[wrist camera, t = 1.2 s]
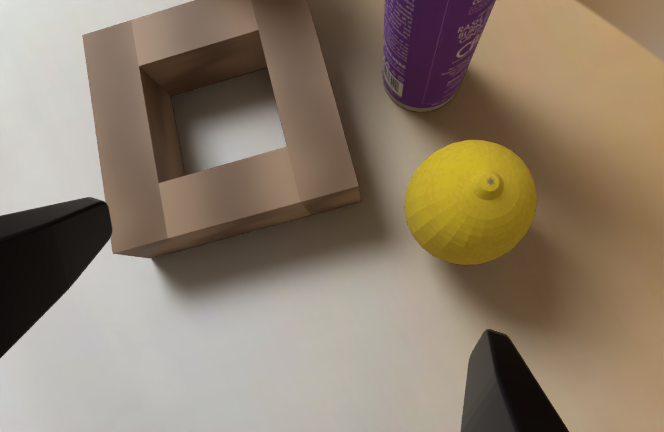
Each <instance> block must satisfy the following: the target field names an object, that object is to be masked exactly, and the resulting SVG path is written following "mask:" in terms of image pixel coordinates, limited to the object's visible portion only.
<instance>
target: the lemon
mask: <svg viewBox="0 0 664 432" xmlns="http://www.w3.org/2000/svg"><path fill="white" fill-rule="evenodd" d="M536 205H537V193H536V185H535V182H534V180H533V177H532V174H531V172H530V170H529V169H528V167H527V166H526V165H525V163H524V162H523V160H522V159H521V158H519V157H518V156H517V155H516V154H515V153H514V152H512V151H511V150H509V149H507V148H505V147H503V146H501V145H500V144H497V143H493V142H489V141H485V140H465V141H461V142H456V143H452V144H450V145H447V146H445V147H443V148H441V149H439V150H437V151H435V152H434V153H433V154H432V155H430V156H429V157H428V158H427V159H426V160H424V161H423V162H422V163H421V164H420V166H419V167H418V169H417V170H416V171H415V173H414V174H413V176H412V177H411V180H410V182H409V185H408V188H407V191H406V196H405V206H404V209H405V214H406V220H407V224H408V226H409V228H410V231H411V233H412V235H413V237H414V238H415V239H416V240H417V242H418V243H419V244H420V246H421V247H422V248H424V249H425V250H426V251H427V252H429V253H430V254H431V255H433V256H434V257H437V258H439V259H441V260H444V261H446V262H449V263H455V264H460V265H472V264H482V263H485V262H488V261H491V260H494V259H497V258H499V257H501V256H502V255H504V254H505V253H507V252H508V251H510V250H511V249H513V248H514V247H515V246H516V245H517V244H518V242H519V241H520V240H521V239H522V238H523V237H524V236H525V234H526V233H527V231H528V229H529V227H530V225H531V223H532V221H533V219H534V216H535V211H536Z"/></svg>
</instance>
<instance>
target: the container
mask: <svg viewBox="0 0 664 432" xmlns="http://www.w3.org/2000/svg"><path fill="white" fill-rule="evenodd" d="M495 1H496V0H385V15H384V48H383V83H384V87H385V90H386V92H387V94H388V95H389V97H390V98H391V99H392V100H393V101H394V102H395V103H396V104H398V105H399V106H401V107H403V108H405V109H408V110H411V111H417V112H425V111H431V110H435V109H437V108H440V107H442V106H443V105H445V104H446V103H448V102H449V101H450V100H451V99H452V98H453V97H454V95H455V94H456V92H457V91H458V88H459V86H460V84H461V82H462V80H463V77H464V75H465V72H466V70H467V68H468V65H469V63H470V61H471V58H472V56H473V53H474V51H475V49H476V46H477V44H478V41H479V39H480V37H481V34H482V32H483V30H484V27H485V25H486V22H487V20H488V18H489V15H490V13H491V10H492V8H493V6H494V3H495Z"/></svg>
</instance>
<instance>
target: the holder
mask: <svg viewBox="0 0 664 432" xmlns="http://www.w3.org/2000/svg"><path fill="white" fill-rule="evenodd" d="M82 36H83V43H84V50H85V57H86V64H87V72H88V79H89V86H90V93H91V100H92V108H93V115H94V122H95V129H96V136H97V144H98V151H99V158H100V165H101V172H102V180H103V187H104V194H105V201H106V203H107V205H108V207H109V211H110V217H111V223H112V229H113V231H112V235H111V244H112V252H113V254H121V255H128V256H136V257H143V258H154V257H158V256H162V255H165V254H169V253H173V252H176V251H180V250H184V249H187V248H191V247H195V246H198V245H202V244H206V243H209V242H213V241H217V240H221V239H224V238H228V237H232V236H235V235H239V234H243V233H246V232H250V231H254V230H257V229H261V228H265V227H268V226H272V225H276V224H279V223H283V222H287V221H290V220H294V219H298V218H301V217H305V216H309V215H313V214H316V213H320V212H324V211H327V210H331V209H335V208H338V207H342V206H346V205H349V204H353V203H357V202H360V201H361V197H360V191H359V185H358V181H357V178H356V174H355V171H354V167H353V163H352V160H351V156H350V153H349V149H348V145H347V142H346V138H345V134H344V131H343V127H342V124H341V120H340V116H339V113H338V109H337V106H336V102H335V98H334V95H333V91H332V87H331V84H330V80H329V77H328V73H327V69H326V66H325V62H324V59H323V55H322V51H321V48H320V44H319V40H318V37H317V33H316V30H315V26H314V22H313V19H312V15H311V12H310V8H309V4H308V1H307V0H195V1H192V2H188V3H185V4H182V5H179V6H175V7H172V8H169V9H166V10H163V11H159V12H156V13H153V14H150V15H146V16H143V17H140V18H137V19H134V20H130V21H127V22H124V23H121V24H117V25H114V26H111V27H108V28H105V29H101V30H98V31H95V32H92V33H88V34H85V35H82ZM266 67H268V71H269V75H270V79H271V83H272V88H273V92H274V96H275V100H276V104H277V108H278V112H279V116H280V121H281V125H282V129H283V133H284V137H285V141H286V145H287V147H285V148H281V149H277V150H274V151H270V152H267V153H263V154H260V155H256V156H253V157H249V158H246V159H242V160H239V161H235V162H232V163H228V164H225V165H221V166H217V167H214V168H210V169H207V170H203V171H200V172H196V173H193V174H189V175H186V176H185V172H184V166H183V161H182V155H181V150H180V144H179V139H178V134H177V128H176V123H175V117H174V112H173V106H172V101H171V96H172V95H175V94H179V93H182V92H185V91H189V90H192V89H195V88H199V87H202V86H206V85H209V84H212V83H216V82H219V81H222V80H226V79H229V78H233V77H236V76H239V75H243V74H246V73H249V72H253V71H256V70H259V69H263V68H266Z"/></svg>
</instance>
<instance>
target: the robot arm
mask: <svg viewBox="0 0 664 432" xmlns="http://www.w3.org/2000/svg"><path fill="white" fill-rule="evenodd" d="M112 231H113V229H112V223H111V217H110V211H109V207H108V205H107V203H105V202H104V201H101V200H98V199H95V198H91V197H87V198H82V199H77V200H72V201H68V202H63V203H58V204H54V205H49V206H44V207H40V208H35V209H30V210H26V211H21V212H16V213H11V214H7V215H2V216H0V358H1V357H2V356H3V355H4V354H5V353H6V352H7V351H8V350H9V349H10V348H11V347H12V346H13V345H14V344H15V343H16V342H17V341H18V340H19V339H20V338H21V337H22V336H23V335H24V334H25V333H26V332H27V331H28V330H29V329H30V328H31V327H32V326H33V325H34V324H35V323H36V322H37V321H38V320H39V319H40V318H41V317H42V316H43V315H44V314H45V313H46V312H47V311H48V310H49V309H50V308H51V307H52V306H53V305H54V304H55V303H56V302H57V301H58V300H59V299H60V298H61V297H62V295H63V294H64V293H65V292H66V291H67V290H68V289H69V288H70V287H71V286H72V285H73V283H74V282H75V281H76V280H77V279H78V277H79V276H80V275H81V274H82V272H83V271H84V270H85V269H86V268H87V266H88V265H89V264H90V263H91V261H92V260H93V259H94V258H95V256H96V255H97V254H98V253H99V252H100V250H101V249H102V248H103V247H104V245H105V244H106V243H107V242H108V240H109V239H110V237H111V235H112ZM461 432H569V431H568V429H567V427H566V426H565V424H564V423H563V421H562V420H561V418H560V416H559V415H558V413H557V412H556V410H555V409H554V407H553V405H552V404H551V402H550V401H549V399H548V398H547V396H546V394H545V393H544V391H543V390H542V388H541V387H540V385H539V383H538V382H537V380H536V379H535V377H534V376H533V374H532V373H531V371H530V369H529V368H528V366H527V365H526V363H525V362H524V360H523V358H522V357H521V355H520V354H519V352H518V351H517V349H516V347H515V346H514V344H513V343H512V341H511V340H510V338H509V337H508V336H507V335H506V334H503V333H500V332H497V331H494V330H491V329H487V330H486V331H484V333H483V334H482V336H481V338H480V339H479V341H478V343H477V344H476V346H475V348H474V349H473V351H472V353H471V355H470V358H469V363H468V372H467V380H466V389H465V397H464V406H463V415H462V424H461Z"/></svg>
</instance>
